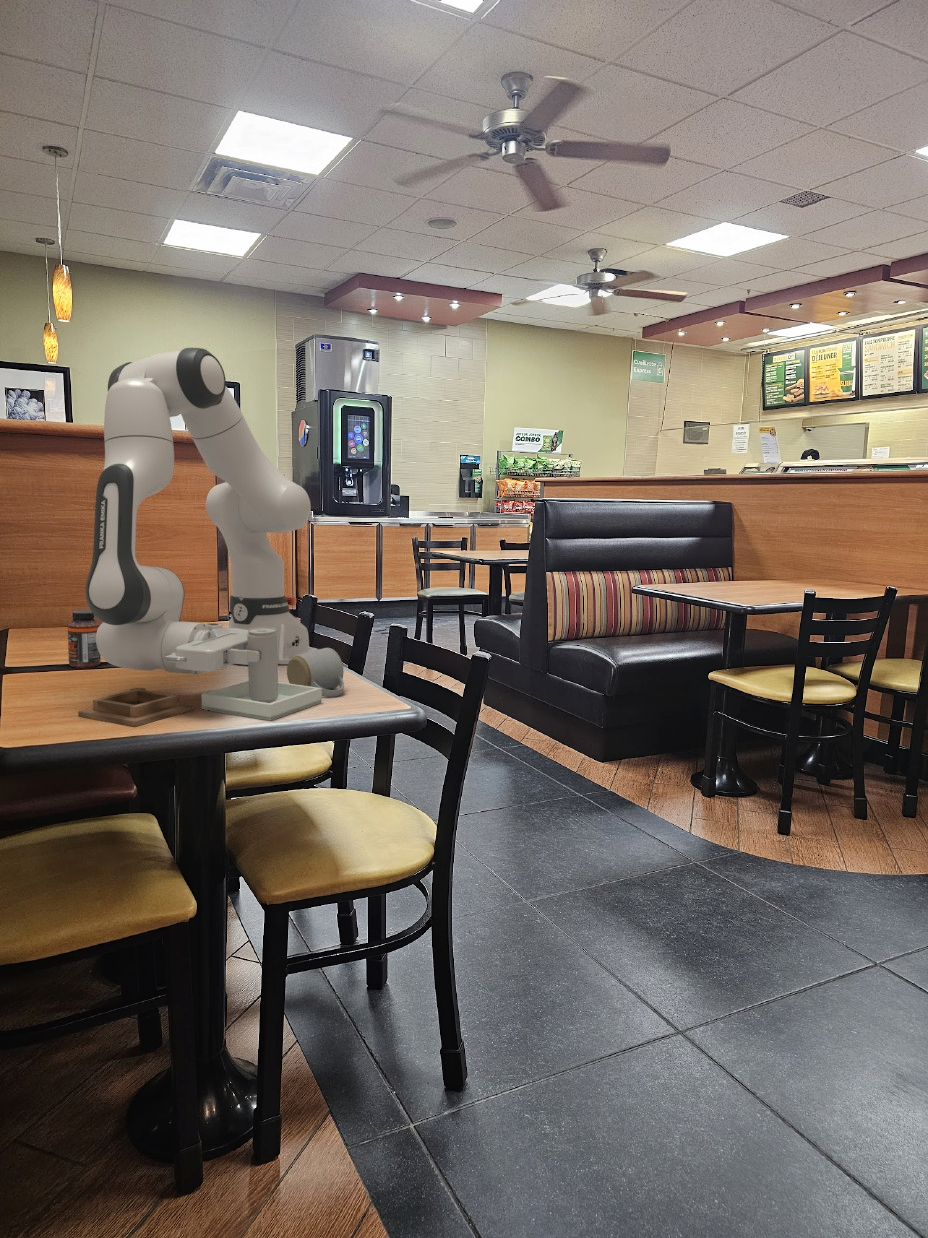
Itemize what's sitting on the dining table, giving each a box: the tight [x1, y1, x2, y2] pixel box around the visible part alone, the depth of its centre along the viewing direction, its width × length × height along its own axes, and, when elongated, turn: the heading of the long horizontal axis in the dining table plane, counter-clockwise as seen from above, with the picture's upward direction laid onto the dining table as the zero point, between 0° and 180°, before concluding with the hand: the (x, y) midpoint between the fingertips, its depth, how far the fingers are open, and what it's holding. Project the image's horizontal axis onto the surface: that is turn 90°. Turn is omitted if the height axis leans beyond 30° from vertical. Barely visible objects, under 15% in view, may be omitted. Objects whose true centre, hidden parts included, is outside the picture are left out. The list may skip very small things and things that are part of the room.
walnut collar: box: [77, 687, 194, 728], centre depth 126 cm, size 12×12×2 cm
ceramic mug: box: [286, 647, 345, 698], centre depth 145 cm, size 11×8×8 cm
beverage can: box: [247, 627, 279, 702], centre depth 133 cm, size 5×5×12 cm
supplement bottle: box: [67, 609, 102, 669], centre depth 161 cm, size 6×6×11 cm
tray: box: [201, 680, 323, 722], centre depth 133 cm, size 14×14×3 cm
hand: (267, 653), depth 132 cm, fingers closed on beverage can, 5 cm apart
